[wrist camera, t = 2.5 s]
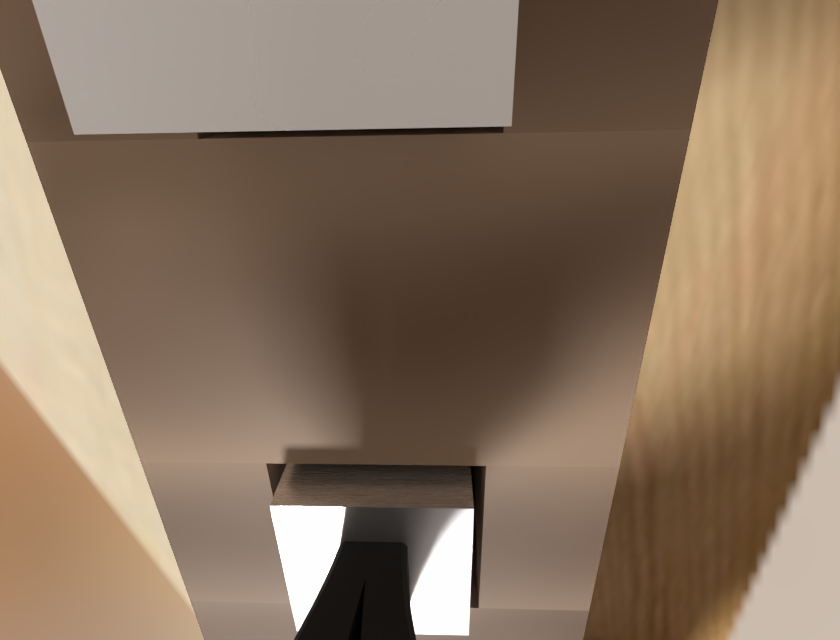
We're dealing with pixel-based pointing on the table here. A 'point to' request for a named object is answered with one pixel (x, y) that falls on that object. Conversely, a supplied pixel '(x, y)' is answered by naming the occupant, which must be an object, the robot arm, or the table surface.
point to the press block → (387, 303)
